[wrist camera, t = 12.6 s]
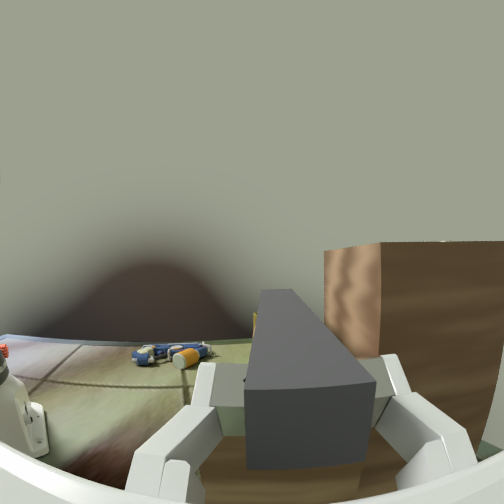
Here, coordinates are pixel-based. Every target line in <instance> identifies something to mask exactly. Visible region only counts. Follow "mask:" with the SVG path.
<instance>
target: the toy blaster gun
mask: <svg viewBox="0 0 504 504" xmlns="http://www.w3.org/2000/svg"><path fill="white" fill-rule="evenodd" d="M202 343H203V344H201V343H177V344H150V345H143V348H142V349H139V350H137V351H135V352H132V362H133V363H136V364H138V365H149V364H150V363H153V362H154V360H157V359H161V358H163V357H167V356H168V360H169V361H171V359H173V364H174V366H175V367H176V368H178V369H185V368H187V367H189V366H192V365H194V364H196V363H197V362H198V360H199V358H201V357H203V356H206V355H212V350H211V346H210V345H206V344H204V342H202ZM208 347H209V351H210V353H207V351H208ZM157 355H159V356H157ZM170 356H171V357H170Z"/></svg>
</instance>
